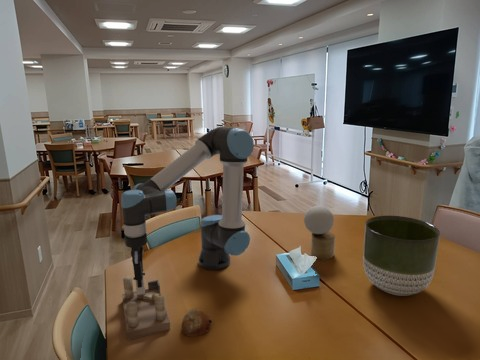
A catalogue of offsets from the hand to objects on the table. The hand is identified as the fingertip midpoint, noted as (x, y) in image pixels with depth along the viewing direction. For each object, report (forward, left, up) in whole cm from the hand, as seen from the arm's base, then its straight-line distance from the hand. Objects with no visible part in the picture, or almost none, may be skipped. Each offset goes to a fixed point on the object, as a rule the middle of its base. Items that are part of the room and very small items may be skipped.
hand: (140, 293), depth 127 cm
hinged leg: (-1, -3, -4) cm, 5 cm away
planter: (-96, -32, -7) cm, 101 cm away
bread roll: (-23, +6, -7) cm, 25 cm away
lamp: (-66, -59, -7) cm, 89 cm away
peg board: (-2, +2, -7) cm, 8 cm away
